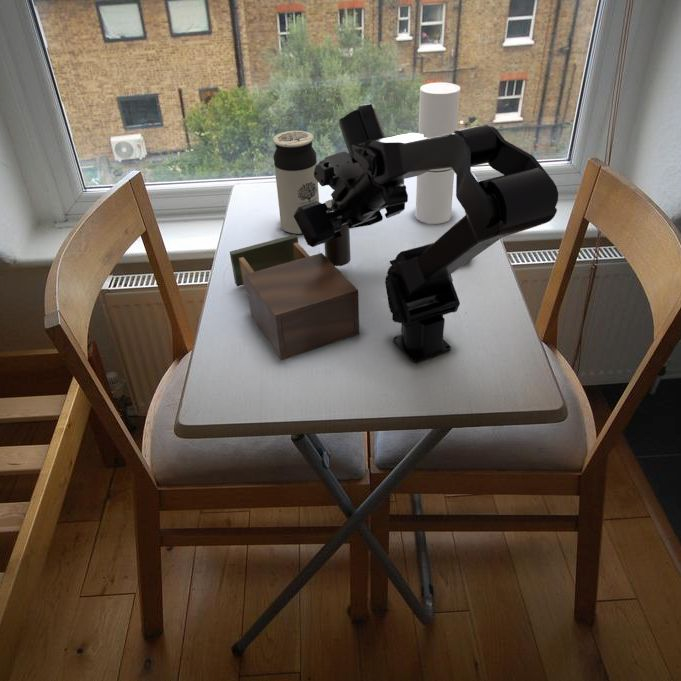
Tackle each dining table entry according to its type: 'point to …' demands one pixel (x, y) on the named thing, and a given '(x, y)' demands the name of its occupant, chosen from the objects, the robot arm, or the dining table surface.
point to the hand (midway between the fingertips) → (331, 230)
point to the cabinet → (303, 305)
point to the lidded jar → (338, 244)
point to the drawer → (264, 257)
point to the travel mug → (294, 175)
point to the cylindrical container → (436, 121)
